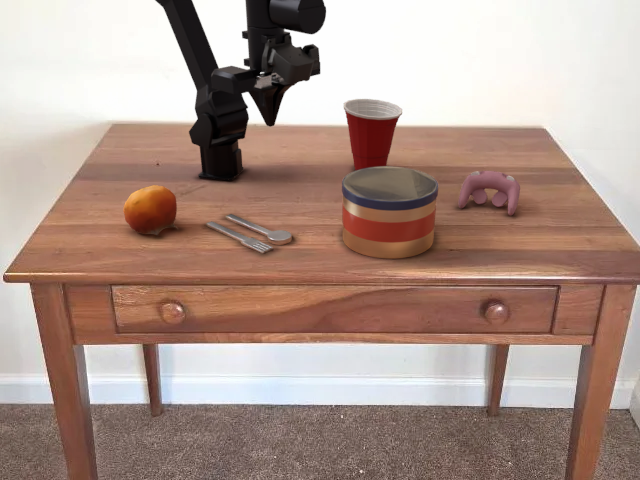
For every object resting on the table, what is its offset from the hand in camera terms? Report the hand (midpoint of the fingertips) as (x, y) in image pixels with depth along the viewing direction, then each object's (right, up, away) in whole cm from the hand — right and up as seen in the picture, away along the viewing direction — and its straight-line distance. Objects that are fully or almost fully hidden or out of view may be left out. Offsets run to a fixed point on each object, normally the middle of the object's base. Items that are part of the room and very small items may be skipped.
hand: (270, 125), depth 123 cm
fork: (-4, -20, -9) cm, 22 cm away
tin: (+19, -20, -8) cm, 28 cm away
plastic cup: (+17, -4, +18) cm, 25 cm away
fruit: (-17, -18, -6) cm, 26 cm away
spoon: (-1, -18, -6) cm, 19 cm away
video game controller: (+36, -13, +4) cm, 39 cm away
